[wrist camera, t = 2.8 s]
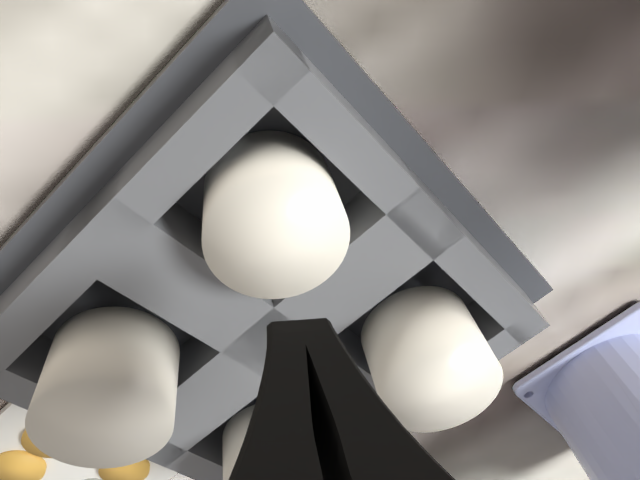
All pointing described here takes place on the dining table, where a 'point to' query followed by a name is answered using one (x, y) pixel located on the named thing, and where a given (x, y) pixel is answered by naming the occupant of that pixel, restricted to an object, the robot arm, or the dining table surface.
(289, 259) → the button
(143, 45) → the dining table surface
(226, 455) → the button
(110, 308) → the button
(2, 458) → the card
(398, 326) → the button
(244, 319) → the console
